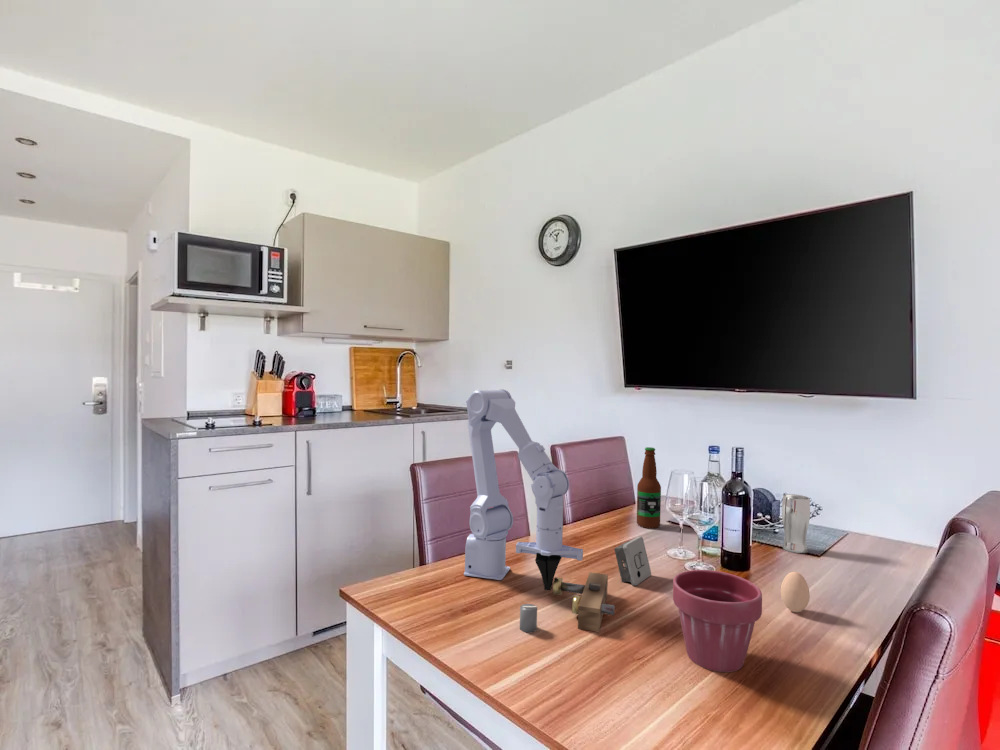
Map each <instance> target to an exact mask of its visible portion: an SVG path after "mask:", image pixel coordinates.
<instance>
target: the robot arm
mask: <svg viewBox="0 0 1000 750" xmlns="http://www.w3.org/2000/svg"><path fill="white" fill-rule="evenodd" d="M466 409H467V419H468V421H467V429H468V437H469V442H470V450H471V458H472V465H473V474H474V479H475V486H476V487H475V488H476V495H477V496H476V498H475V500H474V501H473V502H472V503H471V505H470V506H469V509H470V515H469V529H470V531H471V533H469V535H468V536H467V537H466V541H465V542H466V543H465V548H464V549H465V550H464V571H463V575H464V576H469V577H475V578H476V577H477V578H483V579H488V580H497V581H502V580H503V579H504V578H505V576H506V575H507V574H508V572H509V571H510V569H511V567H510V566H508V565H506V556H507V555H506V553H507V536H508V535H509V530H511V528H513V525H514V516H513V512H512V510H511V509H510V507H509V500H508V499H507V498H506V497H505V496H503V495H502V494H501V492H500V486H499V480H498V479H499V478H498V471H497V470H498V469H497V464H496V458H495V457H496V456H495V450H494V449H495V448H494V443H493V442H494V441H493V435H492V429H493V428H494V426H495V424H497V423H499V424H501V426H502V428H504V430H505V431H506V433H508V435H509V437H510V438H511V439H512V441H513V442H514V444H515V445H516V446H517V448H518V455H517V457H518V459H519V461H520V462H521V464H522V466H523V468H524V469H525V470H526V472H527V474H528V475H529V477H530V479H531V480H532V483H531V485H530V487H531V491H532V493H533V496H534V498H535V501H534V502H535V505H536V530H535V531H536V532H535V533H536V534H535V535H536V537H535V541H532V542H531V541H530V542H529V541H527V542H526V541H524V542H523V541H517V542H516V544H515V554H522V553H523V554H530V555H531V554H532V555H535V564H536V566H537V568H538V570H539V573H540V574H541V577H542V583H543V589H544V591H552V590H553V584H554V578H555V576H556V572H557V569H558V566H559V565H560V563H561V560H562V558H564V559H565V558H566V559H573V560H577V561H580V562H582V560H583V559H584V549H583V548H578V547H574V546H569V545H564V544H563V535H564V533H563V530H564V529H563V525H564V495H566V494H567V493H568V491H569V488H570V481H569V478H568V476H567V473H566V472H565V471H563V470H562V469H559V468H557V466H556V465H554V464H553V463H552V461H551V459H550V457H549V456H548V454H547V453H546V452H545V450H546V448H545V447H544V445H542V444H541V443H540V442H537V441H533V440H532V438H531V437H530V435H529V433H528V431H527V429H526V426H525V425H524V423H523V422H522V421H523V420H522V419H521V418H520V416H519V414H518V412H517V410H516V401H515V400H514V398H512V395H511V393H510V392H509V390H506V389H490V390H488V389H485V390H483V389H476V390H473V392H472V393H471V394H470V395H469V397H468V399H467V400H466Z"/></svg>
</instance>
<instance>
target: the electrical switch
mask: <svg viewBox="0 0 1000 750" xmlns="http://www.w3.org/2000/svg"><path fill="white" fill-rule="evenodd" d="M614 554H615V557H616V558H615V559H616V562H617V566H618V570H619V575H620V580H621V582H622V583H631V585H632V586H633V587H634V586H638V585H639V584H640V583H642V582H644V581H645V580H646V579H648V578H649V577H650V576H651V575H652V571H651V566H650V562H649V557H648V554H647V549H646V545H645V541H644V538H643V536H637V537H635V538H634V539H631V540H627V541H625V542H623V543H622V544H620V545H618V546H616V547H615V548H614Z"/></svg>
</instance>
